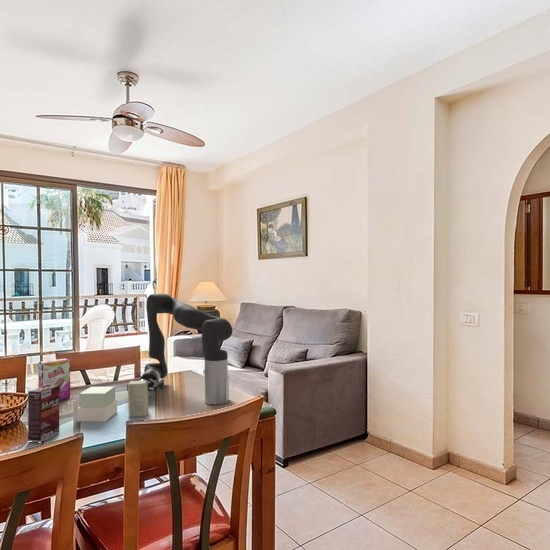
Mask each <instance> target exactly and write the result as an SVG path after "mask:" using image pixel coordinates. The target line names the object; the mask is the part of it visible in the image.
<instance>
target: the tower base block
mask: <svg viewBox="0 0 550 550" xmlns="http://www.w3.org/2000/svg"><path fill="white" fill-rule="evenodd" d="M76 413H77V414H76V415H77V417H76V418H77V422H80V421H98V422H102V421H103V422H104V423H105V422H107V421H108V420H109V419H111V418H112V417H113V416H115V415H116V414H118V399H115V400H114V401H113V402H112V403H110V404H109V405H108V406H106V407H105V408H80V406H78V407H77V412H76ZM115 413H116V414H115ZM110 417H111V418H110Z"/></svg>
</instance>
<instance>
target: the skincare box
mask: <svg viewBox="0 0 550 550" xmlns="http://www.w3.org/2000/svg"><path fill="white" fill-rule="evenodd" d="M130 381H131V382H130ZM130 381H129V382H128V383H127V384H128V390H127V399H128V400H127V401H128V402H127V403H128V418H129V417H131V418H134V417H136V418H137V417H146V416H147V415H148V414H149V394H148V392H149V391H148V387H147V380H144V381H139V380H130Z"/></svg>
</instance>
